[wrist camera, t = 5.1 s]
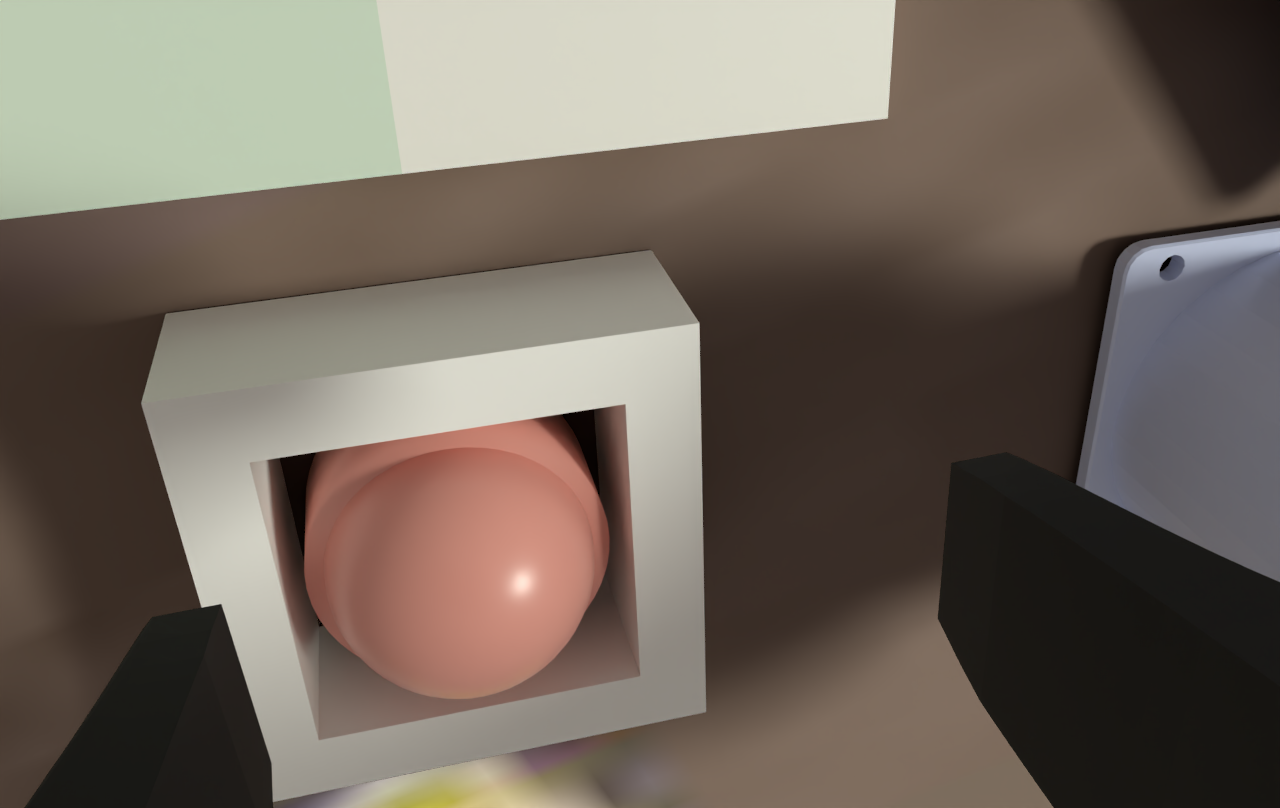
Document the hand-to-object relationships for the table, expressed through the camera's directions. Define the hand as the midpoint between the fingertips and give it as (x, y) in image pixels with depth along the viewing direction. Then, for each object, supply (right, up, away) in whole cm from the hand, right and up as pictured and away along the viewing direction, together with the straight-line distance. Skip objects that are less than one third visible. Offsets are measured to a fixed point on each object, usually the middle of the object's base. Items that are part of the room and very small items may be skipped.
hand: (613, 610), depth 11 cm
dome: (-3, 0, +10) cm, 10 cm away
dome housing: (-3, +1, +10) cm, 10 cm away
